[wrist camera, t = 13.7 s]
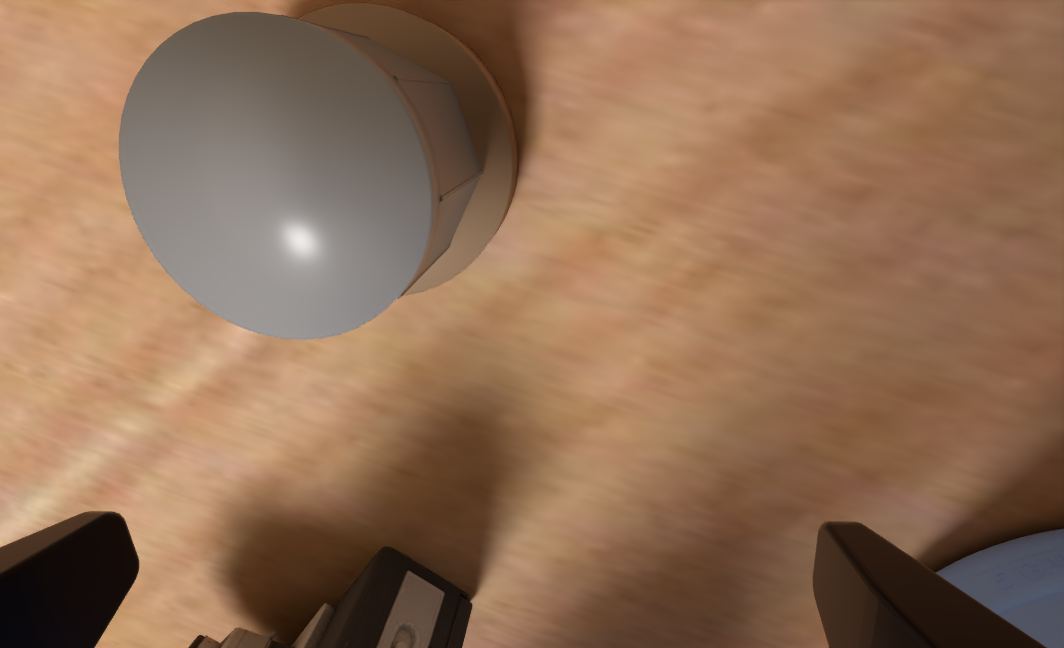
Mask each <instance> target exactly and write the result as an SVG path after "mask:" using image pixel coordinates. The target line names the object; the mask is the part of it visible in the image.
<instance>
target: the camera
mask: <svg viewBox="0 0 1064 648" xmlns="http://www.w3.org/2000/svg"><path fill="white" fill-rule="evenodd" d="M467 597H468V594H467V593H465V592H464V591H462V590H461V589H459V588H457V587H456V586H454V585H453V584H451V583H450V582H448V581H446V580H445V579H443V578H441V577H440V576H438V575H436V574H435V573H433V572H432V571H430V570H428V569H427V568H425V567H423V566H422V565H420V564H418V563H417V562H415V561H413V560H411V559H409V558H408V557H406V556H404V555H403V554H401V553H399V552H397V551H396V550H394V549H392V548H389V547H385V548H382V549H381V550H380V551H379V552H378V553H377V554H376V555H375V556H374V558H373V559H372V560H371V561H370V563H369V564H368V565H367V567H366V568H365V569H364V570H363V572H362V573H361V574H360V575H359V577H358V578H357V579H356V581H355V582H354V583H353V584H352V586H351V587H350V588H349V590H348V591H347V592H346V593H345V595H344V596H343V597H342V598H341V600H340V601H339V602H338V604H337V605H336V606H335V607H334V608H333V607H332V606H330V605H328V604H326V603H325V604H324V605H323V606H322V607H321V608H320V610H319V611H318V612H317V614H316V615H315V616H314V617H313V619H312V620H311V621H310V623H309V624H308V625H307V626H306V628H305V629H304V630H303V632H302V633H301V634H300V636H299V637H298V638H297V639H296V641H295V642H294V643H293V645H292V646H291V647H289V646H286V645H284V644H281V643H278V642H275V641H273V640H272V638H273V637H274V635H275V634H276V632H273V633H272V634H271V635H270V636H269V637H268V638H267V637H264V636H262V635H259V634H256V633H253V632H250V631H248V630H245V629H242V628H235V629H234V630H233V631H232V632H231V633H230V634H229V635H228V636H227V637H226V638H225V639H224V640H223V641H222V642H221V643H219V642H217V641H215V640H213V639H212V638H210V637H208V636H206V637H204V636H202V635H199V636H197V638H196V639H195V640H194V641H193V643H192V644H191V645H190V646H189V648H462V646H463V642H464V638H465V634H466V630H467V626H468V622H469V618H470V614H471V610H472V603H471V602H469V601H467Z"/></svg>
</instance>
